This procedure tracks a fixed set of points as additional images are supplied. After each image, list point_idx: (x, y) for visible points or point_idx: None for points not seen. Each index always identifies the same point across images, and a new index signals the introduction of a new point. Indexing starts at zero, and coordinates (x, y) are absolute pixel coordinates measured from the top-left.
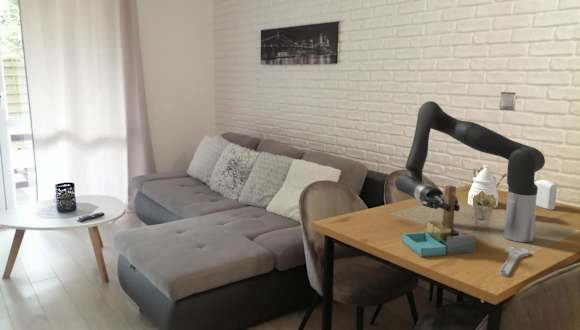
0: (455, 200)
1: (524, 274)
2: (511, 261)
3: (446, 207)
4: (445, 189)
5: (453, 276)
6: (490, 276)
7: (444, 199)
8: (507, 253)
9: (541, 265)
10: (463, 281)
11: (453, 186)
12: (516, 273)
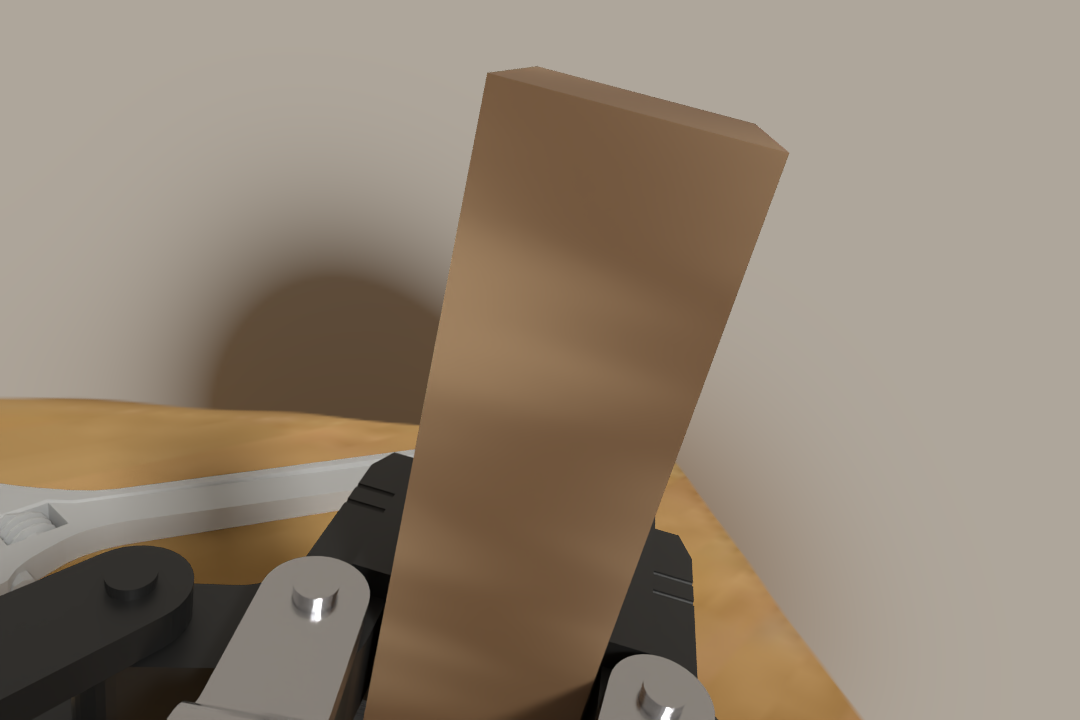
0: (123, 607)
1: (346, 432)
2: (254, 487)
3: (676, 557)
4: (734, 294)
5: (747, 583)
6: None
7: (619, 607)
8: (27, 584)
9: (112, 421)
10: (722, 533)
11: (570, 79)
12: (372, 451)
